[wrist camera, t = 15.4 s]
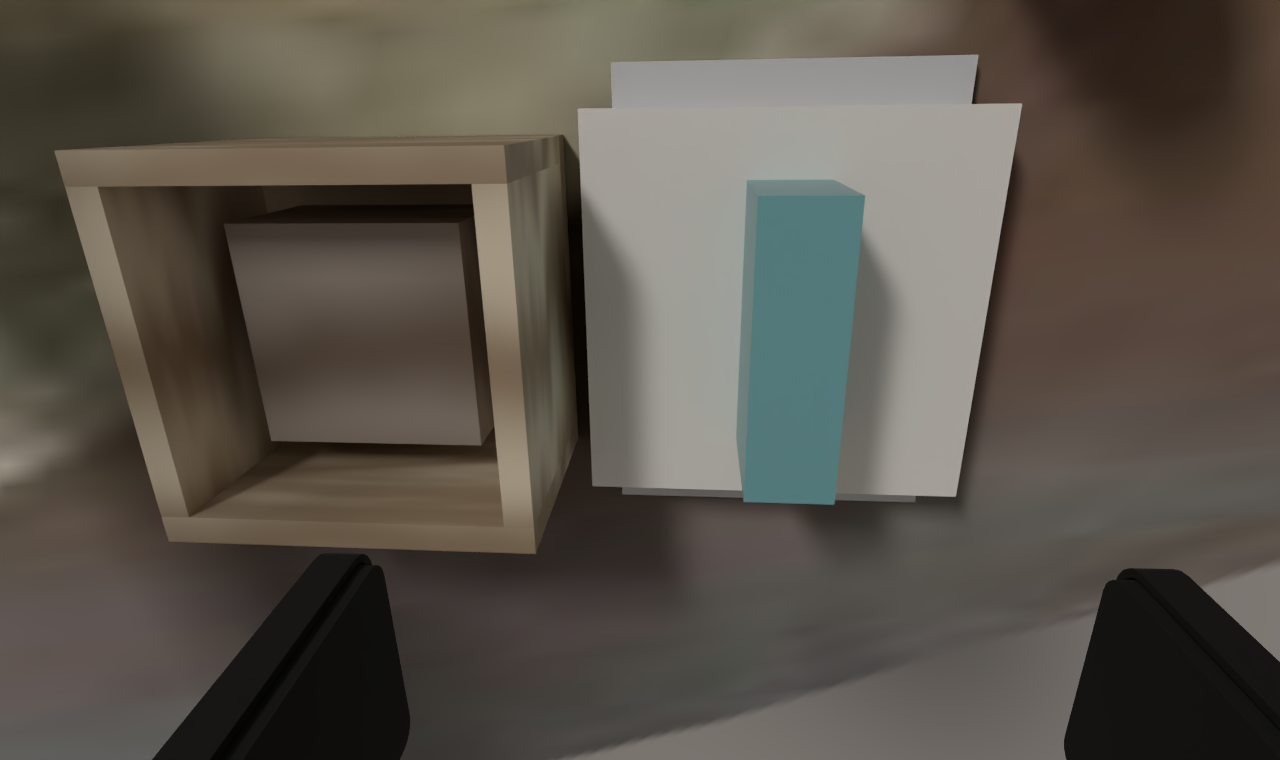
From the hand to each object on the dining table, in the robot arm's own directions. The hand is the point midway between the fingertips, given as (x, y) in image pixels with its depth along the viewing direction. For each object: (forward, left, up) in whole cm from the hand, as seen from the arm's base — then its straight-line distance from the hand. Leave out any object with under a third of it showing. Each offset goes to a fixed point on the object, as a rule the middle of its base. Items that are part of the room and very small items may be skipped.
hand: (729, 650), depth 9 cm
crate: (+1, -12, -21) cm, 24 cm away
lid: (+1, +3, -21) cm, 21 cm away
